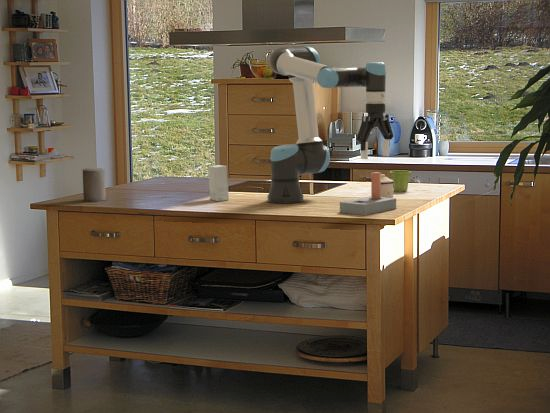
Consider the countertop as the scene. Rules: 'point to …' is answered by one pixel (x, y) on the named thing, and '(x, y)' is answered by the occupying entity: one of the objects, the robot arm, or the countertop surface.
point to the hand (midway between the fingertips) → (375, 157)
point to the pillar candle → (94, 184)
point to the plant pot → (400, 180)
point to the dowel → (375, 185)
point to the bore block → (367, 205)
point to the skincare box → (218, 183)
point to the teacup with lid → (386, 187)
